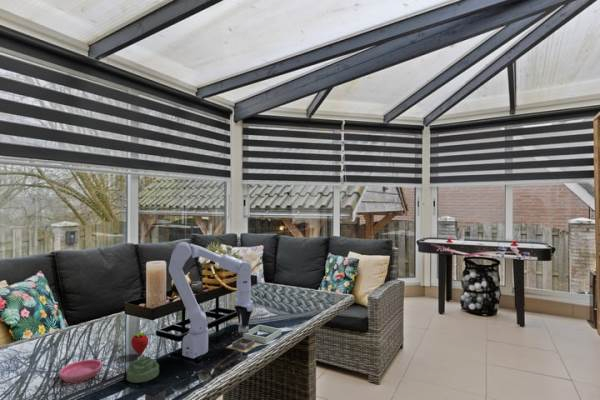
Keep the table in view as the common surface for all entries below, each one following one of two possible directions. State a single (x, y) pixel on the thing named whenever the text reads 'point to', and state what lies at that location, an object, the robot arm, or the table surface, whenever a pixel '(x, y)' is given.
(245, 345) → the socket block
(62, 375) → the saucer
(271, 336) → the bin
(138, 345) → the strawberry
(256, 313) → the adjustable wrench
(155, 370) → the decorative artifact
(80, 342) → the table surface
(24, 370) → the table surface
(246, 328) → the strut
